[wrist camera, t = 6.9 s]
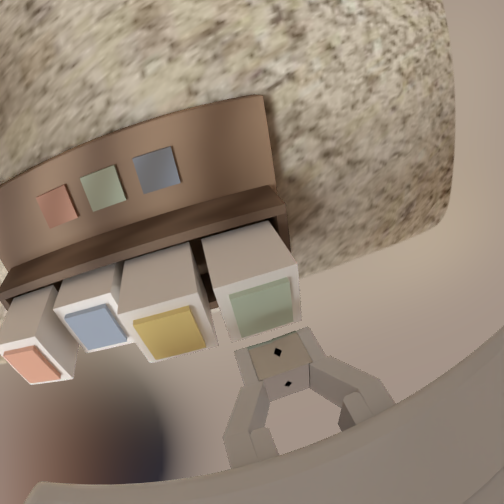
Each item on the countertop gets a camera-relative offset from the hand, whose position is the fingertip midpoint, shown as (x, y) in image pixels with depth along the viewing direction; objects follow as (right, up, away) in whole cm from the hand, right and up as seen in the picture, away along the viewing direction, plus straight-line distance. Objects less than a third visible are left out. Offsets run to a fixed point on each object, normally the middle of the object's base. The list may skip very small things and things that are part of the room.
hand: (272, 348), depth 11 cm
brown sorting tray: (-8, +5, +5) cm, 11 cm away
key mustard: (-5, +2, +4) cm, 7 cm away
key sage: (-1, +3, +4) cm, 6 cm away
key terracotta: (-13, 0, +3) cm, 13 cm away
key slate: (-9, +2, +5) cm, 11 cm away
